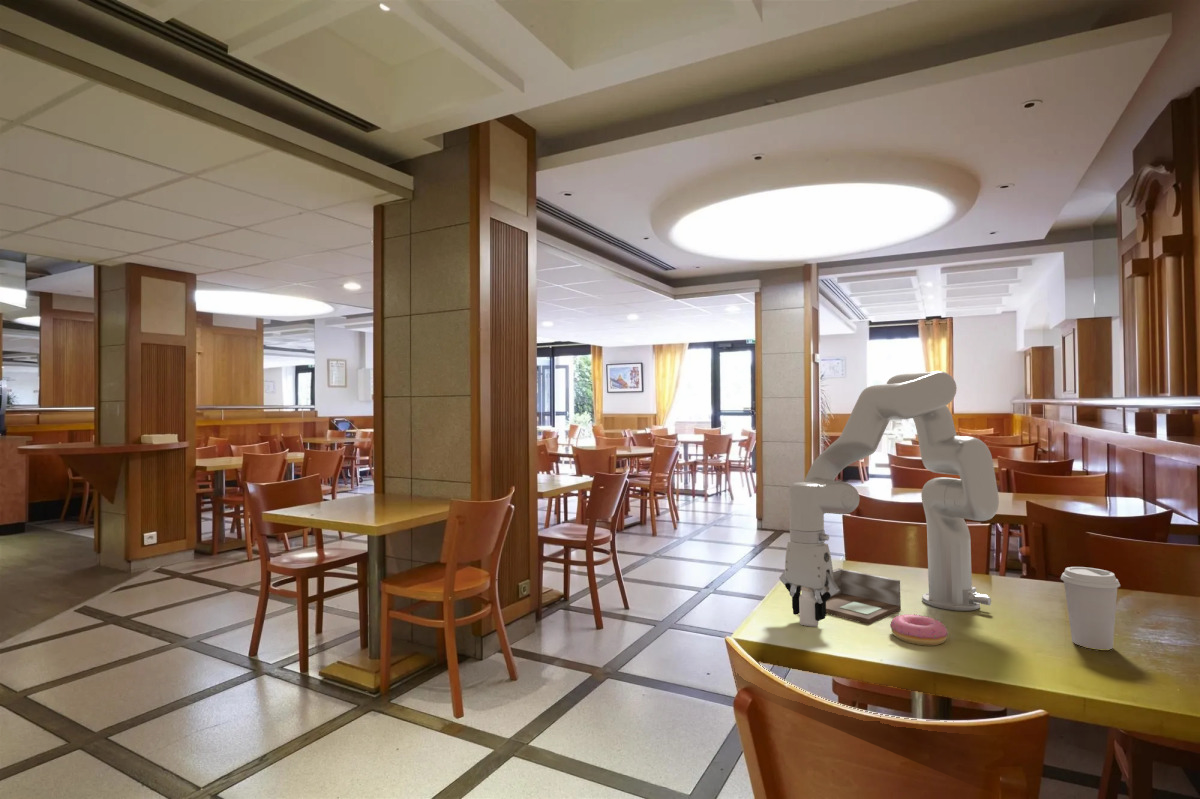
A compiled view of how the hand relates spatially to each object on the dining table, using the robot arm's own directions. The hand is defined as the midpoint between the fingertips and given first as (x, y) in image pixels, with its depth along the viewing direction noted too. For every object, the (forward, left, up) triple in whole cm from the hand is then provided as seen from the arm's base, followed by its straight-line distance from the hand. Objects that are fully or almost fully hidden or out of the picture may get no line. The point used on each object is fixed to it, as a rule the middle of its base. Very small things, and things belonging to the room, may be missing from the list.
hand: (809, 615), depth 139 cm
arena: (-1, -18, -2) cm, 18 cm away
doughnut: (-20, -10, -2) cm, 22 cm away
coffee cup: (-45, -32, -2) cm, 55 cm away
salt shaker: (0, 0, -2) cm, 2 cm away
